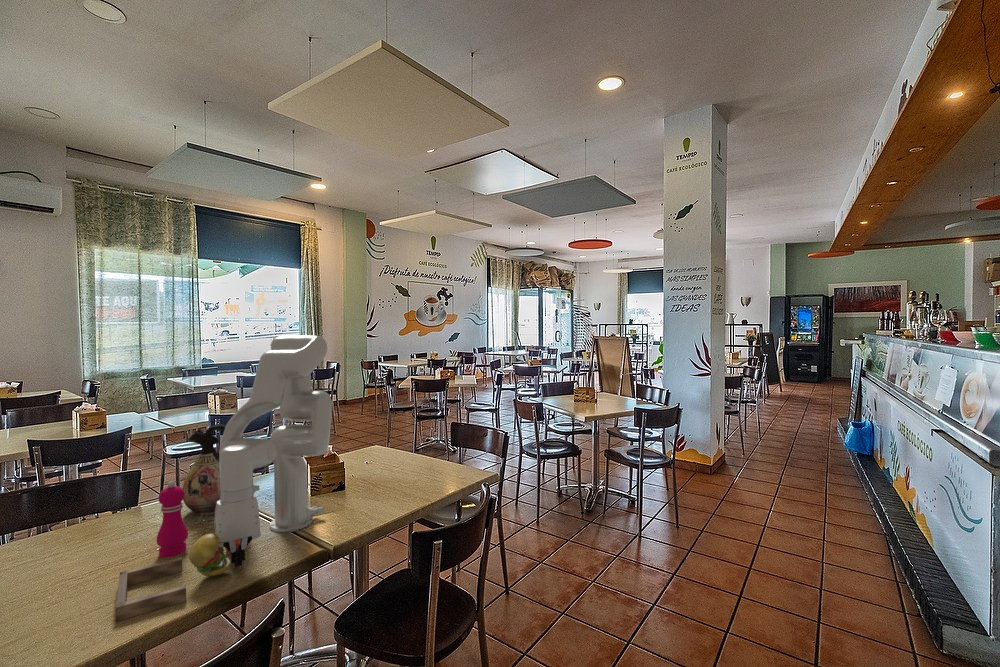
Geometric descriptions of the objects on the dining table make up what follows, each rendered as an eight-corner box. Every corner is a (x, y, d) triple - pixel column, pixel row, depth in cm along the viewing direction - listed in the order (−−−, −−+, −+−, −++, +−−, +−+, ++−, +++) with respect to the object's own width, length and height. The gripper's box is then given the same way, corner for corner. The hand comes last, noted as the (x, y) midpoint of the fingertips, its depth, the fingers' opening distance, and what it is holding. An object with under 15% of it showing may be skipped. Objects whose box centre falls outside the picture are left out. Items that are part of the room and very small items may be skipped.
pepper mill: (172, 560, 127) (170, 486, 127) (150, 557, 129) (148, 484, 128) (194, 547, 134) (193, 477, 134) (173, 545, 136) (172, 476, 135)
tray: (181, 568, 123) (181, 557, 123) (186, 600, 108) (186, 587, 108) (120, 584, 115) (119, 572, 115) (116, 621, 101) (115, 607, 101)
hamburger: (238, 567, 120) (219, 531, 115) (209, 589, 115) (188, 553, 110) (225, 556, 125) (206, 521, 120) (197, 577, 120) (176, 541, 115)
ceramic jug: (176, 524, 150) (174, 430, 149) (188, 507, 164) (187, 421, 164) (237, 516, 156) (235, 426, 156) (244, 500, 170) (242, 417, 170)
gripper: (265, 484, 130) (266, 550, 130) (201, 496, 121) (202, 567, 121) (271, 491, 124) (272, 561, 124) (204, 505, 115) (205, 580, 115)
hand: (238, 564), depth 122 cm, fingers closed
